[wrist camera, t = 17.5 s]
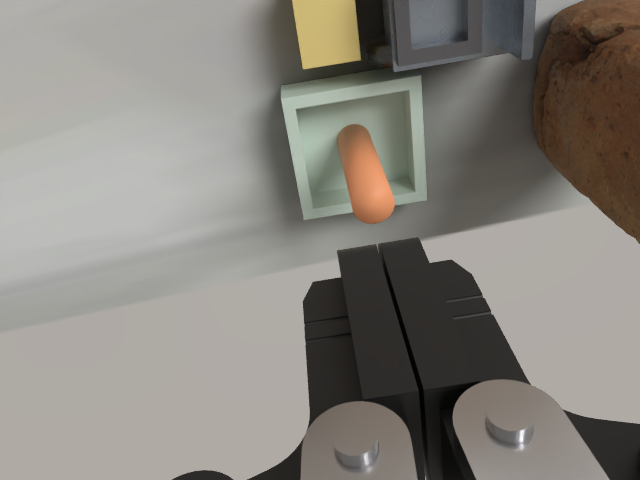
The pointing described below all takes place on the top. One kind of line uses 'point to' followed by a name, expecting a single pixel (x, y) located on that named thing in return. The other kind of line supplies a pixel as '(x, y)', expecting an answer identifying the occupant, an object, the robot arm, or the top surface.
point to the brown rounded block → (594, 104)
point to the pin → (364, 175)
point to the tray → (368, 111)
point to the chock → (326, 32)
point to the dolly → (451, 32)
